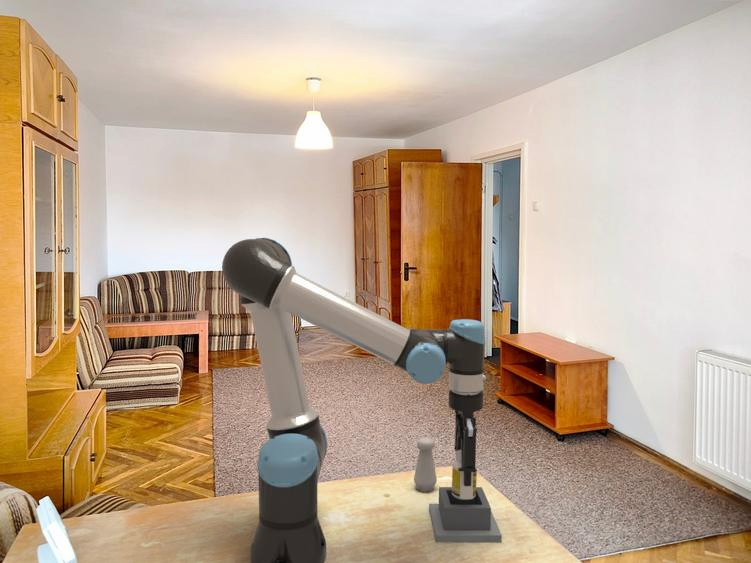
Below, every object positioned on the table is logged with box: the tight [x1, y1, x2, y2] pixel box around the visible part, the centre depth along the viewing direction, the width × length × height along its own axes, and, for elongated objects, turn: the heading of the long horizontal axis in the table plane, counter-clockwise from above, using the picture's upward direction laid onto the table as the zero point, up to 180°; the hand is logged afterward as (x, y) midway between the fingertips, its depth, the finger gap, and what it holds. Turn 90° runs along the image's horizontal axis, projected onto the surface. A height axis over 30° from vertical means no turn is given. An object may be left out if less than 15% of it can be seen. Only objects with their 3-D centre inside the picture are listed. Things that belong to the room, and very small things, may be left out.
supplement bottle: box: [451, 450, 478, 500], centre depth 126 cm, size 5×5×10 cm
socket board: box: [428, 486, 503, 543], centre depth 127 cm, size 14×14×6 cm
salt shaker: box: [413, 437, 438, 493], centre depth 144 cm, size 6×6×13 cm
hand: (463, 491), depth 126 cm, fingers closed on supplement bottle, 5 cm apart
